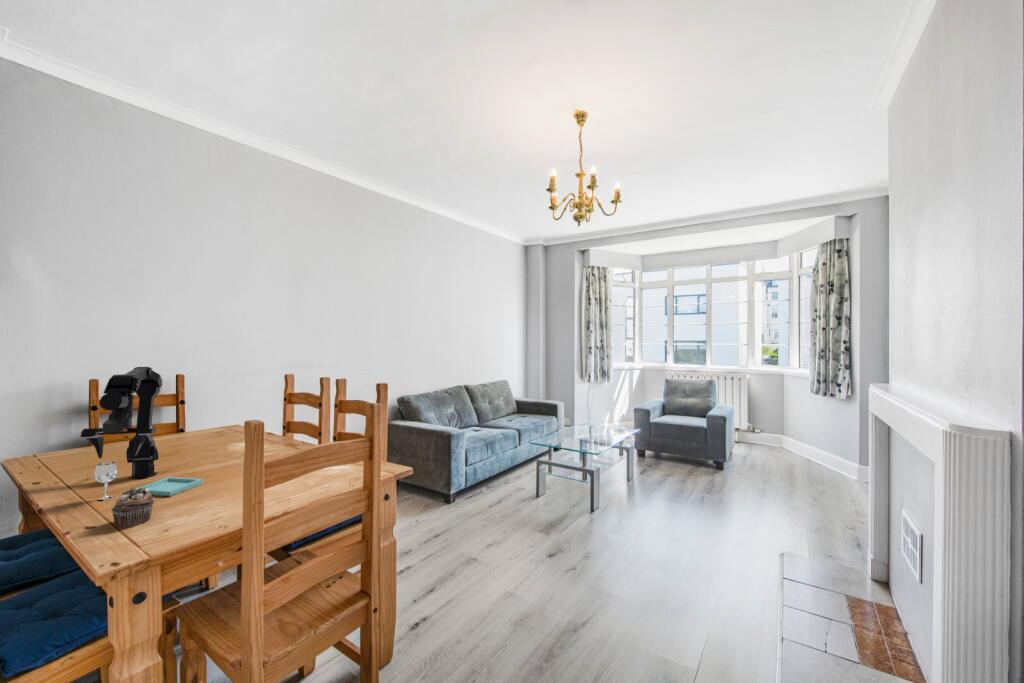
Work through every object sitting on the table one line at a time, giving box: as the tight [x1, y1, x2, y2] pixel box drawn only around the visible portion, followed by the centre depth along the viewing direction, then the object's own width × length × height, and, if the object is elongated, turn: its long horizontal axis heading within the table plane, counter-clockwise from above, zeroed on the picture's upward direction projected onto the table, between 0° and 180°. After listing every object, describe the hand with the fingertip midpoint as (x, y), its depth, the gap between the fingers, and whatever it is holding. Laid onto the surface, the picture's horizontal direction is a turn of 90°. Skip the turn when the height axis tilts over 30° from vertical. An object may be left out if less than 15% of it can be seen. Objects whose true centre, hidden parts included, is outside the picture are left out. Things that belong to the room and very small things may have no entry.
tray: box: [135, 476, 203, 498], centre depth 159 cm, size 14×14×2 cm
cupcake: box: [111, 487, 155, 528], centre depth 131 cm, size 10×10×10 cm
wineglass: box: [94, 461, 119, 499], centre depth 148 cm, size 6×6×12 cm
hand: (117, 457), depth 149 cm, fingers open, 9 cm apart
